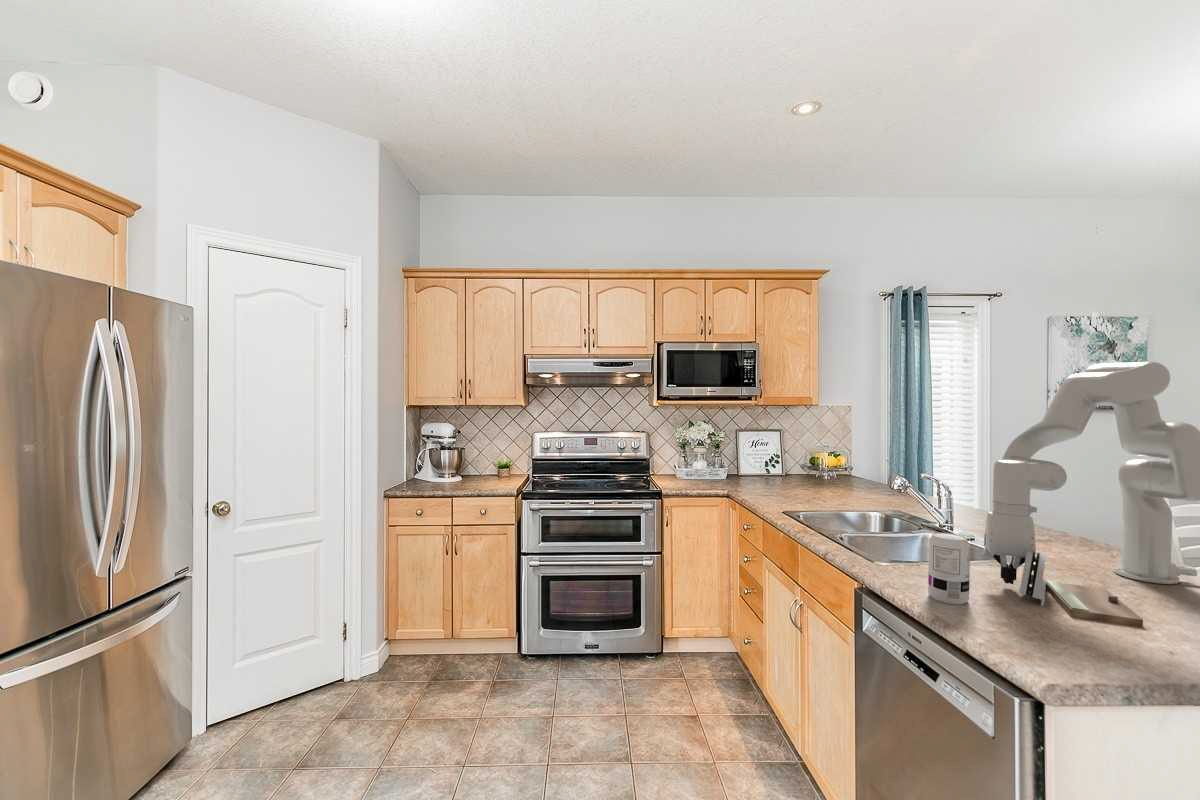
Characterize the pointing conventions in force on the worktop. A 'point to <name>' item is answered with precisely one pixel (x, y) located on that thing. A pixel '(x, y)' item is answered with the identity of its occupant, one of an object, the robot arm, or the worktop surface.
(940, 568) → the supplement can
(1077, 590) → the door panel
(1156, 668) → the worktop surface
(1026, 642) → the worktop surface
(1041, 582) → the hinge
